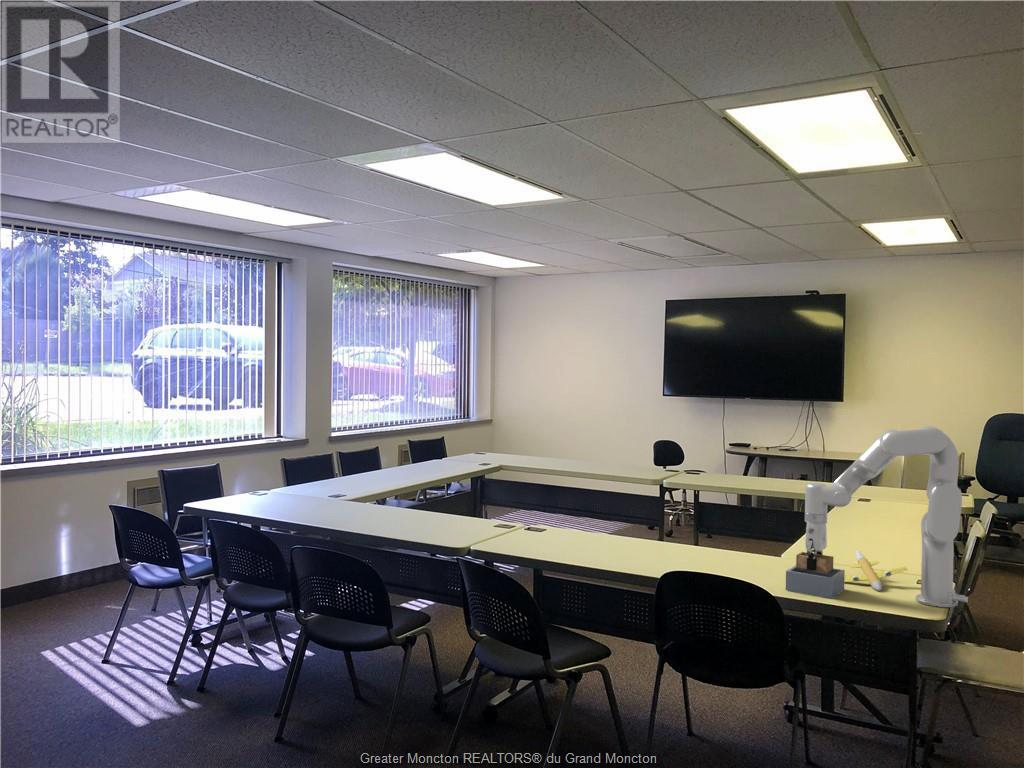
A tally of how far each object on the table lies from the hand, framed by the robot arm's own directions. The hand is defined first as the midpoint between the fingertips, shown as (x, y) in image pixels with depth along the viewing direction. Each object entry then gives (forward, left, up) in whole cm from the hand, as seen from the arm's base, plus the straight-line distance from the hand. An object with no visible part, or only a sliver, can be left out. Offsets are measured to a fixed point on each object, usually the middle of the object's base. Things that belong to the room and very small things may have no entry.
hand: (814, 567), depth 279 cm
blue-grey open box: (0, 0, -8) cm, 8 cm away
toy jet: (-12, -24, -9) cm, 28 cm away
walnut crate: (0, 0, -1) cm, 1 cm away
